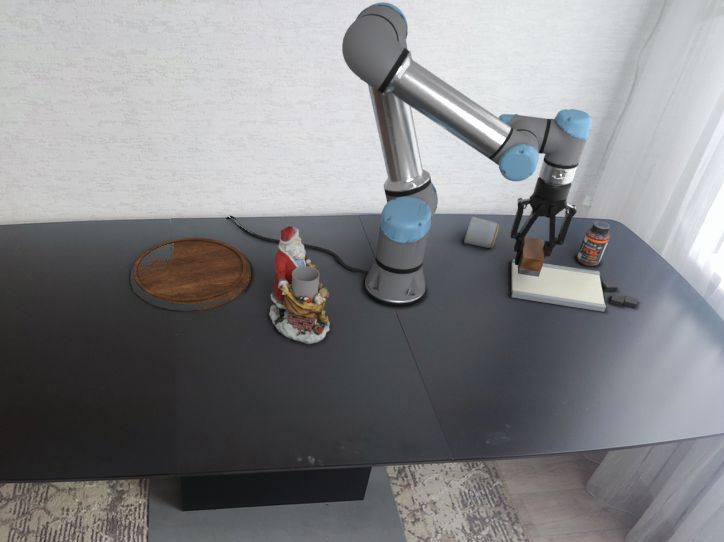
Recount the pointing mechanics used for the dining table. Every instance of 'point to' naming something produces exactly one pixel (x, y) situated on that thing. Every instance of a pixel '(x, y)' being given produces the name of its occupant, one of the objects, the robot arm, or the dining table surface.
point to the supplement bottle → (594, 244)
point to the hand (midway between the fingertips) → (528, 263)
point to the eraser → (531, 257)
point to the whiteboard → (560, 286)
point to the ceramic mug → (481, 232)
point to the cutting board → (195, 272)
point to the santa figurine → (297, 292)
